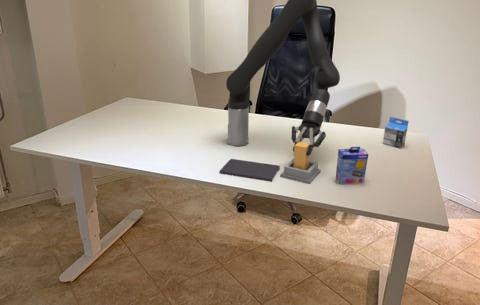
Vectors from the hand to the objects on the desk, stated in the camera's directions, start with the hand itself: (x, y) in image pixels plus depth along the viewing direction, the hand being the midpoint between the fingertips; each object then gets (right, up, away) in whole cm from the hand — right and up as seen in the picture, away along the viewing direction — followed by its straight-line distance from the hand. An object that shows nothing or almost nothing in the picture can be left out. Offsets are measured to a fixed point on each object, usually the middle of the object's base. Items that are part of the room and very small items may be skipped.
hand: (301, 153), depth 149 cm
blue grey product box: (+47, +4, +32) cm, 57 cm away
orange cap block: (0, -6, +3) cm, 7 cm away
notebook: (-19, -7, +8) cm, 22 cm away
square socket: (0, -8, +4) cm, 9 cm away
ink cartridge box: (+18, -10, -1) cm, 21 cm away
